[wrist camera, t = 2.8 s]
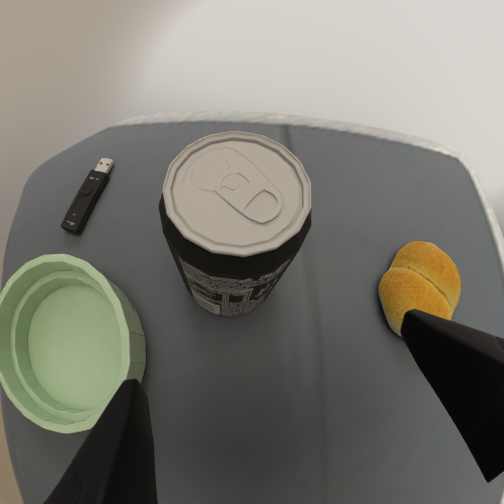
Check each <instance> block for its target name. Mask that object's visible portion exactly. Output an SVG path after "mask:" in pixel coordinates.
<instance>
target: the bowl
mask: <svg viewBox="0 0 504 504" xmlns="http://www.w3.org/2000/svg"><path fill="white" fill-rule="evenodd" d="M144 336H145V335H144V332H143V329H142V326H141V323H140V320H139V317H138V314H137V311H136V310H135V308H134V307H133V305H132V304H131V302H130V301H129V299H128V298H127V296H126V295H125V293H124V292H123V291H122V290H121V289H119V288H118V287H117V286H116V285H114V284H113V283H112V282H111V281H110V280H108V279H107V278H106V277H105V276H103V275H102V274H101V273H100V272H99V271H97V270H96V269H95V268H94V267H93V266H91V265H90V264H89V263H88V262H86V261H85V260H82V259H79V258H76V257H73V256H70V255H67V254H52V255H43V256H40V257H38V258H36V259H34V260H32V261H30V262H27V263H25V264H24V265H23V266H22V267H21V268H20V269H19V270H18V271H17V272H16V273H15V274H14V275H13V276H12V277H11V278H10V279H9V280H8V282H7V284H6V285H5V287H4V289H3V291H2V292H1V294H0V382H1V384H2V386H3V388H4V390H5V392H6V394H7V396H8V397H9V399H10V400H11V401H12V402H13V403H14V405H15V406H16V407H17V408H18V409H19V411H20V412H21V413H22V414H23V415H24V416H25V417H27V418H28V419H30V420H31V421H33V422H34V423H36V424H37V425H39V426H40V427H42V428H44V429H47V430H51V431H55V432H60V433H64V434H69V433H75V432H80V431H86V430H89V429H92V428H93V427H94V425H95V423H96V422H97V420H98V419H99V417H100V416H101V414H102V413H103V411H104V409H105V408H106V406H107V405H108V403H109V402H110V400H111V399H112V397H113V396H114V394H115V393H116V391H117V389H118V388H119V386H120V385H121V383H122V382H123V381H124V380H125V379H134V378H135V379H138V381H139V382H140V384H141V382H142V378H143V374H144V370H145V366H146V349H145V337H144Z"/></svg>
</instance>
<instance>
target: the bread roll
mask: <svg viewBox="0 0 504 504" xmlns="http://www.w3.org/2000/svg"><path fill="white" fill-rule="evenodd" d="M460 290H461V281H460V277H459V273H458V270H457V267H456V266H455V264H454V263H453V261H452V260H451V259H450V257H449V256H448V255H447V254H445V253H444V252H443V251H442V250H440V249H439V248H438V247H437V246H435V245H433V244H432V243H429V242H422V241H413V242H410V243H408V244H407V245H405V246H404V247H402V248H401V249H400V250H399V251H398V253H397V254H396V256H395V258H394V260H393V262H392V265H391V267H390V268H389V270H388V271H387V272H386V273H385V274H384V275H383V277H382V279H381V281H380V284H379V297H380V300H381V304H382V307H383V310H384V313H385V315H386V319H387V321H388V324H389V326H390V327H391V329H392V330H393V331H394V332H395V333H397V334H398V335H399V336H401V333H400V328H401V325H402V321H403V317H404V314H405V312H407V311H409V310H411V309H418V310H421V311H424V312H427V313H430V314H433V315H436V316H439V317H441V318H444V319H447V320H450V321H451V317H452V314H453V312H454V309H455V307H456V305H457V303H458V300H459V298H460ZM401 337H402V336H401Z"/></svg>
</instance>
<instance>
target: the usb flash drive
mask: <svg viewBox="0 0 504 504" xmlns="http://www.w3.org/2000/svg"><path fill="white" fill-rule="evenodd" d="M113 164H114V161H113V160H112V159H106V158H102V159H101V160H100V162H99V164H98V165H97V167H96V169H95V170H91V171H90V173H89V174H88V176H87V178H86V179H85V181H84V183H83V184H82V186H81V188H80V190H79V192H78V193H77V195H76V197H75V199H74V201H73V202H72V204H71V206H70V208H69V210H68V212H67V214H66V216H65V218H64V220H63V222H62V224H61V227H62V228H63V229H64V230H66V231H69V232H72V233H75V234H77V235H80V233H81V231H82V229H83V227H84V224H85V222H86V220H87V218H88V216H89V214H90V212H91V210H92V208H93V206H94V205H95V203H96V201H97V199H98V197H99V195H100V193H101V191H102V190H103V188H104V186H105V184H106V182H107V181H108V179H109V176H108V172H109V170H110V169H111V167H112V165H113Z"/></svg>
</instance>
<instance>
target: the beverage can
mask: <svg viewBox="0 0 504 504" xmlns="http://www.w3.org/2000/svg"><path fill="white" fill-rule="evenodd" d="M162 190H163V192H162V196H161V199H160V203H159V211H160V217H161V222H162V228H163V233H164V236H165V238H166V241H167V243H168V245H169V248H170V250H171V253H172V255H173V257H174V260H175V262H176V264H177V267H178V269H179V271H180V274H181V276H182V278H183V281H184V283H185V285H186V287H187V290H188V292H189V293H190V294H191V296H192V297H193V298H194V299H195V301H196V302H197V303H198V305H199V306H201V307H203V308H204V309H206V310H208V311H210V312H211V313H213V314H216V315H224V316H232V317H234V316H237V315H241V314H245V313H248V312H251V311H252V310H253V309H255V308H256V307H257V306H259V305H260V304H261V303H262V302H264V301H265V299H266V298H267V296H268V295H269V293H270V292H271V291H272V289H273V288H274V286H275V285H276V283H277V282H278V280H279V279H280V278H281V276H282V275H283V273H284V272H285V270H286V269H287V267H288V266H289V264H290V263H291V261H292V260H293V258H294V257H295V255H296V254H297V253H298V251H299V249H300V247H301V245H302V243H303V241H304V239H305V237H306V235H307V233H308V231H309V229H310V227H311V182H310V180H309V178H308V176H307V174H306V172H305V170H304V168H303V166H302V163H301V162H300V161H299V160H298V159H297V158H296V157H295V156H294V155H293V154H292V153H291V152H290V151H289V150H288V149H287V148H285V147H284V146H283V145H282V144H280V143H278V142H275V141H273V140H271V139H269V138H267V137H264V136H262V135H260V134H254V133H246V132H238V131H230V132H223V133H218V134H212V135H207V136H205V137H203V138H202V139H200V140H198V141H196V142H194V143H192V144H190V145H188V146H186V147H185V148H184V149H183V150H182V152H181V153H180V154H179V155H178V156H177V157H176V158H175V159H174V161H173V162H172V163H171V164H170V165H169V169H168V172H167V175H166V178H165V181H164V185H163V188H162Z"/></svg>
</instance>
